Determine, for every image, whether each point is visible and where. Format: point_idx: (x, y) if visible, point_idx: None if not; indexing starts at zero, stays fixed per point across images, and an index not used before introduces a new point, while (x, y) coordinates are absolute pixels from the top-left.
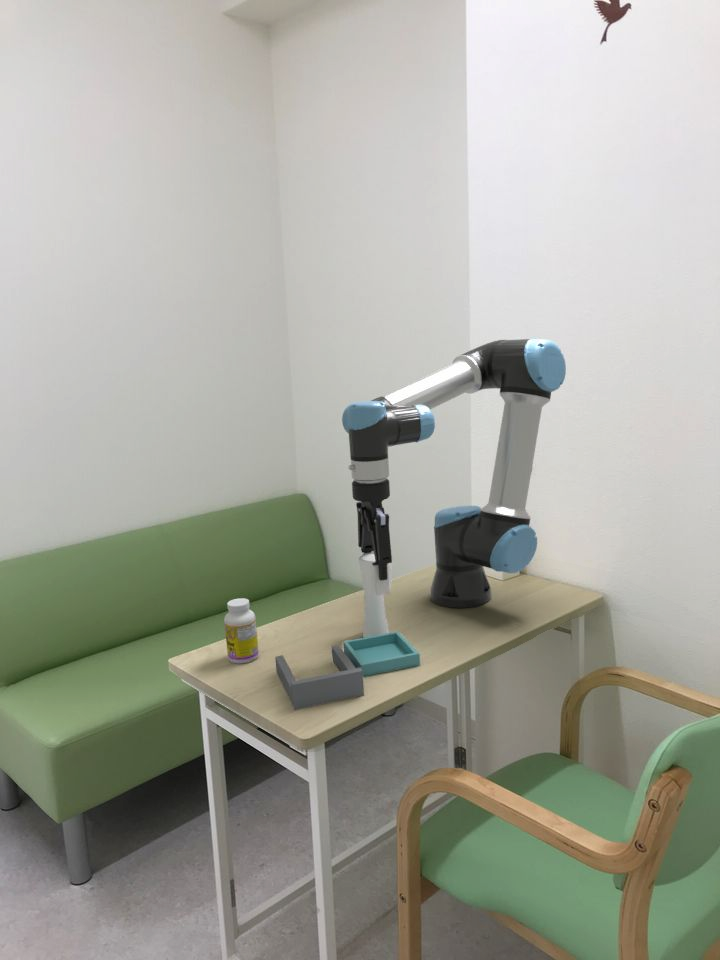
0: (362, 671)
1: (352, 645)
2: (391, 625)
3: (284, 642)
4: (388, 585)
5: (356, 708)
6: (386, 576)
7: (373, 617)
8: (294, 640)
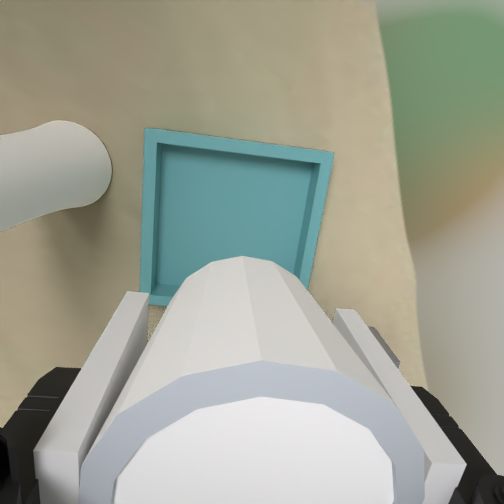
0: (399, 361)
1: (153, 278)
2: (7, 80)
3: (15, 389)
4: (374, 338)
5: (408, 356)
6: (439, 410)
7: (71, 196)
8: (12, 367)
